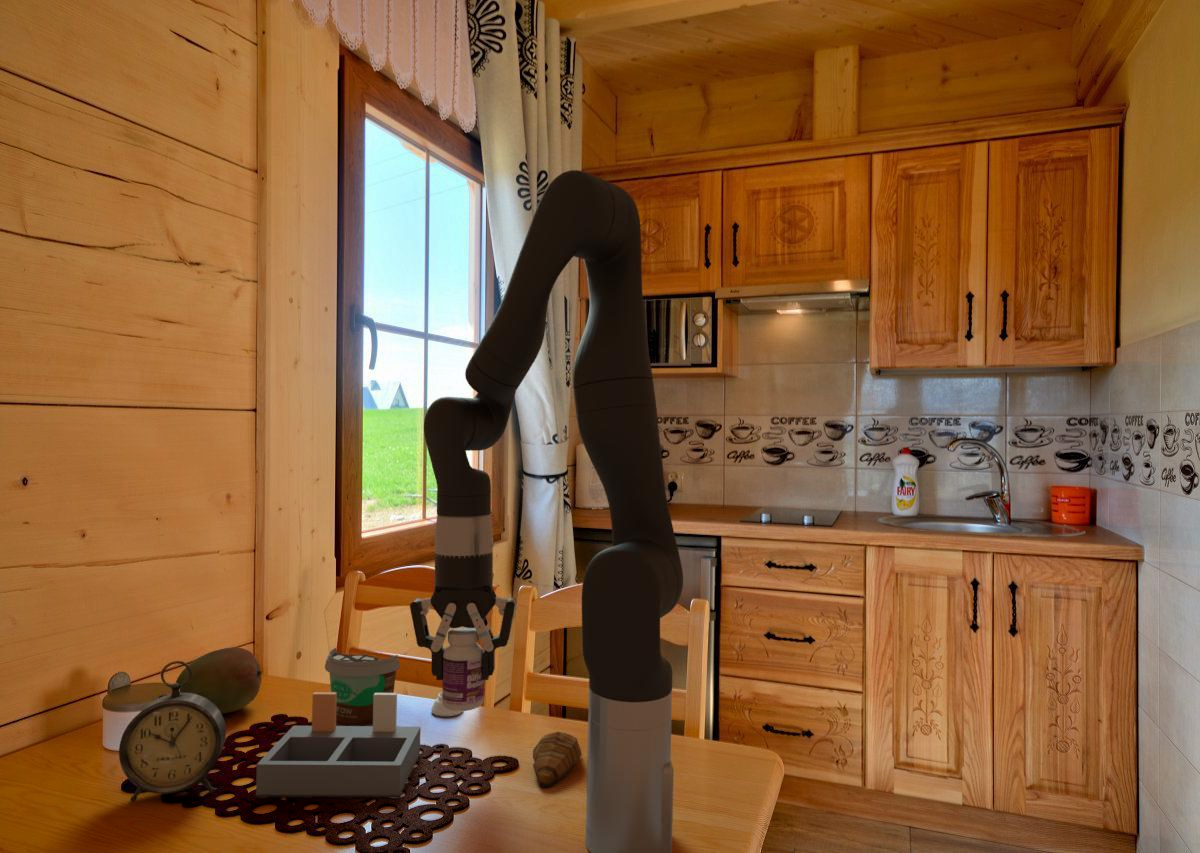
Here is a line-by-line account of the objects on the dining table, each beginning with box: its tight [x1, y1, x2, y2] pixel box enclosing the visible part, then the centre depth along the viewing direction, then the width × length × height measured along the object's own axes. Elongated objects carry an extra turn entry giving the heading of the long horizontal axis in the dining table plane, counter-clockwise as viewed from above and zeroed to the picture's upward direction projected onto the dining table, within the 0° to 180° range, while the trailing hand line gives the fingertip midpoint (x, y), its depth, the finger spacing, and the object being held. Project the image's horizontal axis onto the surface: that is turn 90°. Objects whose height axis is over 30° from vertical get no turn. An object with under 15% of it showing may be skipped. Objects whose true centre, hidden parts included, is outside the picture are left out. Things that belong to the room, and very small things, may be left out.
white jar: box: [430, 691, 463, 718], centre depth 120 cm, size 5×3×5 cm
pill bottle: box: [442, 627, 485, 712], centre depth 98 cm, size 5×5×10 cm
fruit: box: [175, 646, 263, 715], centre depth 118 cm, size 12×12×10 cm
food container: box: [324, 647, 401, 726], centre depth 116 cm, size 12×6×10 cm, turn 73°
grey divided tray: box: [255, 691, 421, 799], centre depth 98 cm, size 17×12×9 cm
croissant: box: [532, 731, 583, 788], centre depth 102 cm, size 14×7×5 cm, turn 170°
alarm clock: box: [118, 660, 227, 802], centre depth 92 cm, size 11×5×16 cm, turn 105°
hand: (463, 677), depth 98 cm, fingers closed on pill bottle, 5 cm apart
